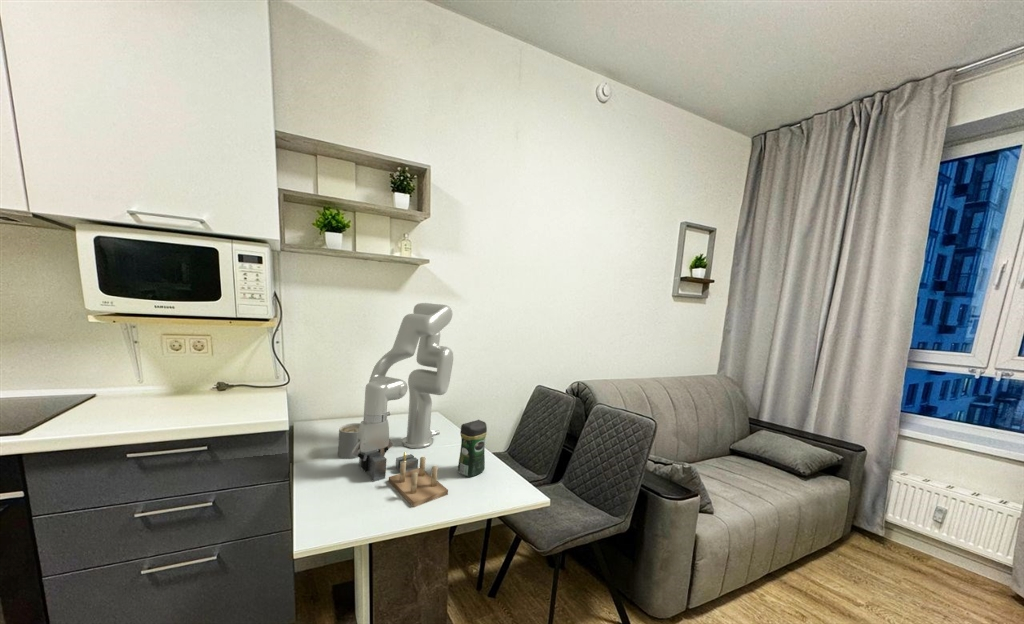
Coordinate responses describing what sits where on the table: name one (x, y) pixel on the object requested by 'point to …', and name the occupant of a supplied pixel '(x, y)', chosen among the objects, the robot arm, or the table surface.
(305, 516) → the table surface
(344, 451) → the coffee mug
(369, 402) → the robot arm
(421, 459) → the rack
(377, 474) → the steel bar
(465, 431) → the coffee jar
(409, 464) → the slot block
